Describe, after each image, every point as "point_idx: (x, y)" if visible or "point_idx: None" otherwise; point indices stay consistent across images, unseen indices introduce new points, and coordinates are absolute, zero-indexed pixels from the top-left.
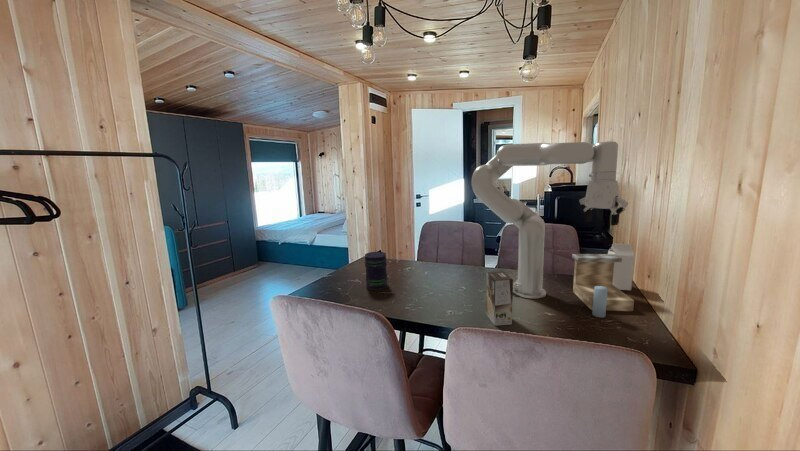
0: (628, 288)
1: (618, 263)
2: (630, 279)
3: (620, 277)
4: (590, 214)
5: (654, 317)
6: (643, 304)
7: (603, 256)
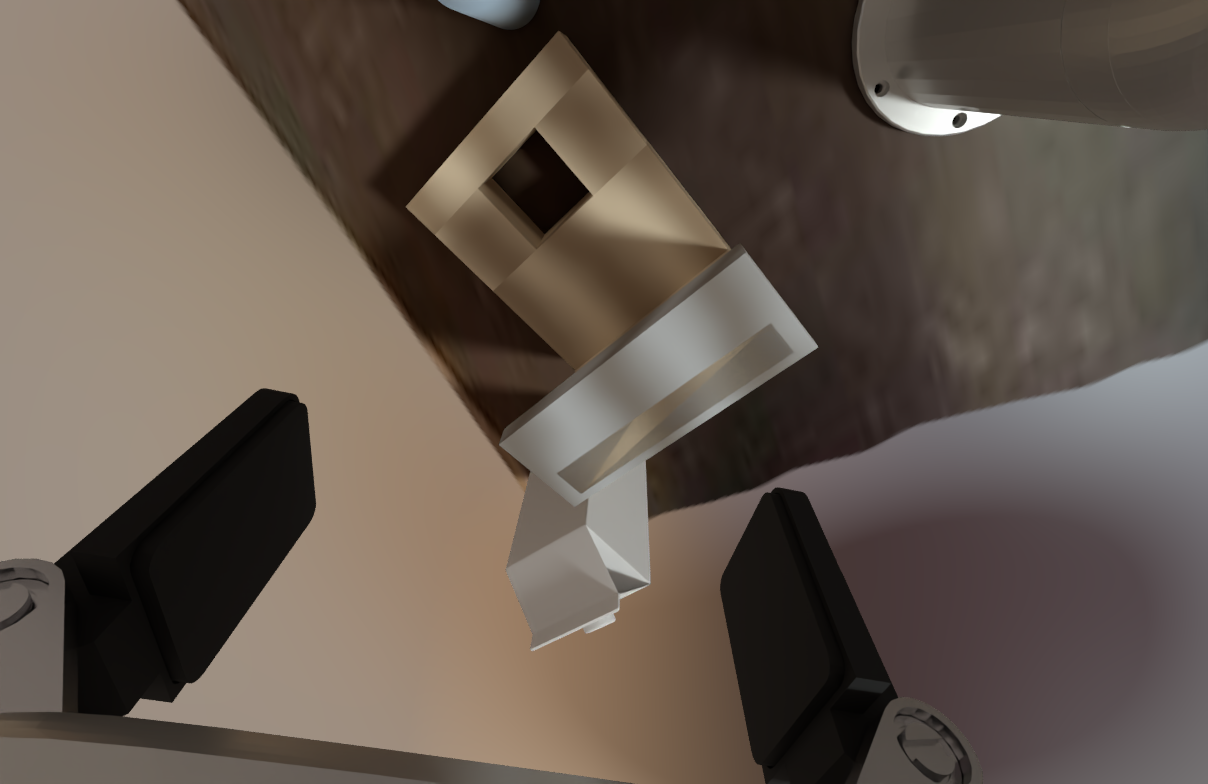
0: None
1: None
2: None
3: None
4: (765, 675)
5: (337, 188)
6: (437, 314)
7: (605, 418)
